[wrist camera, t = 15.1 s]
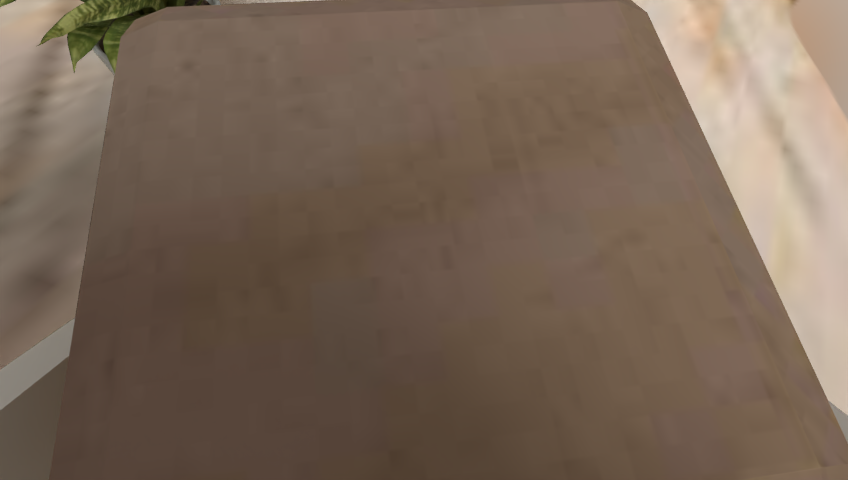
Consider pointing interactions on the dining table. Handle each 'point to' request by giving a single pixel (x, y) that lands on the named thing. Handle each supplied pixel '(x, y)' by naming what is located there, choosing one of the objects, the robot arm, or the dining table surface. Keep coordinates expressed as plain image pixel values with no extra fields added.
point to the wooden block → (423, 259)
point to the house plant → (105, 25)
